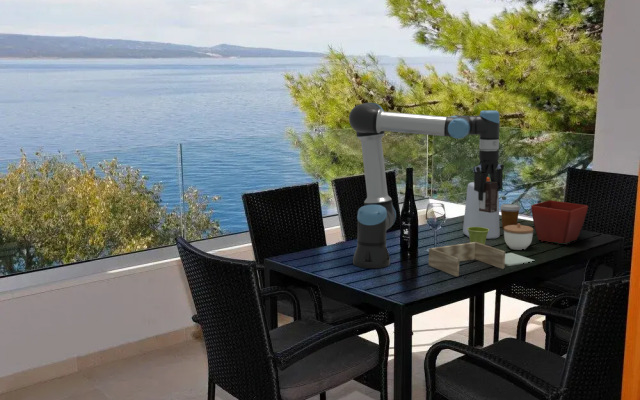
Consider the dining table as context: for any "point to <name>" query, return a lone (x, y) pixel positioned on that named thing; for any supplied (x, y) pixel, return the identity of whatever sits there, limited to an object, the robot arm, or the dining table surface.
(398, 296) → the dining table surface
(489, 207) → the box
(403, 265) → the dining table surface
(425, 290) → the dining table surface
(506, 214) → the disposable coffee cup
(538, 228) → the plant pot
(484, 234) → the plant pot
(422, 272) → the dining table surface
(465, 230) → the plastic bottle
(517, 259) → the plate
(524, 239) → the lidded bowl
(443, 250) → the wooden u-shaped frame
